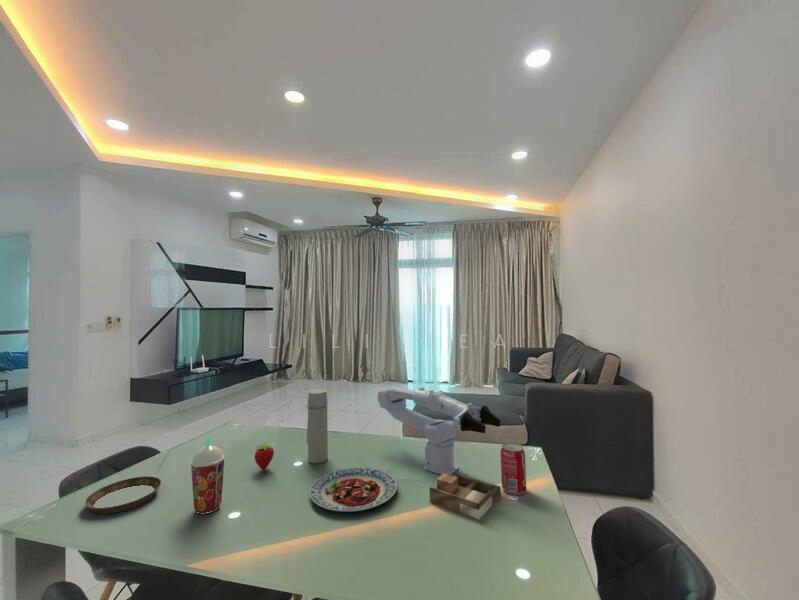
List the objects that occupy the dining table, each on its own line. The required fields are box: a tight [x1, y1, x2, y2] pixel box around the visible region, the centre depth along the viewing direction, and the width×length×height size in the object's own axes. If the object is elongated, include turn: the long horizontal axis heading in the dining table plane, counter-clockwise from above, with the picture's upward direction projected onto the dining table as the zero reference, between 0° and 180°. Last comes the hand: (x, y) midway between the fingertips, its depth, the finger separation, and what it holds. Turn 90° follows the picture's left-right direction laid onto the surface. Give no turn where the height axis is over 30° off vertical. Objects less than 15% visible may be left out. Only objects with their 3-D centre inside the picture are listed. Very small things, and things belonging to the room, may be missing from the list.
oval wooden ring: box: [84, 476, 162, 514], centre depth 105 cm, size 18×18×3 cm
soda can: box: [500, 442, 527, 496], centre depth 107 cm, size 7×7×13 cm
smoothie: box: [190, 435, 226, 513], centre depth 99 cm, size 8×8×20 cm
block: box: [436, 473, 458, 493], centre depth 104 cm, size 4×4×3 cm
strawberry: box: [254, 443, 275, 471], centre depth 123 cm, size 6×8×10 cm
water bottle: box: [305, 389, 329, 465], centre depth 131 cm, size 9×8×25 cm
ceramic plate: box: [309, 466, 398, 513], centre depth 107 cm, size 26×26×3 cm
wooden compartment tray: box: [429, 472, 502, 520], centre depth 103 cm, size 15×15×4 cm
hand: (492, 426), depth 107 cm, fingers open, 7 cm apart
